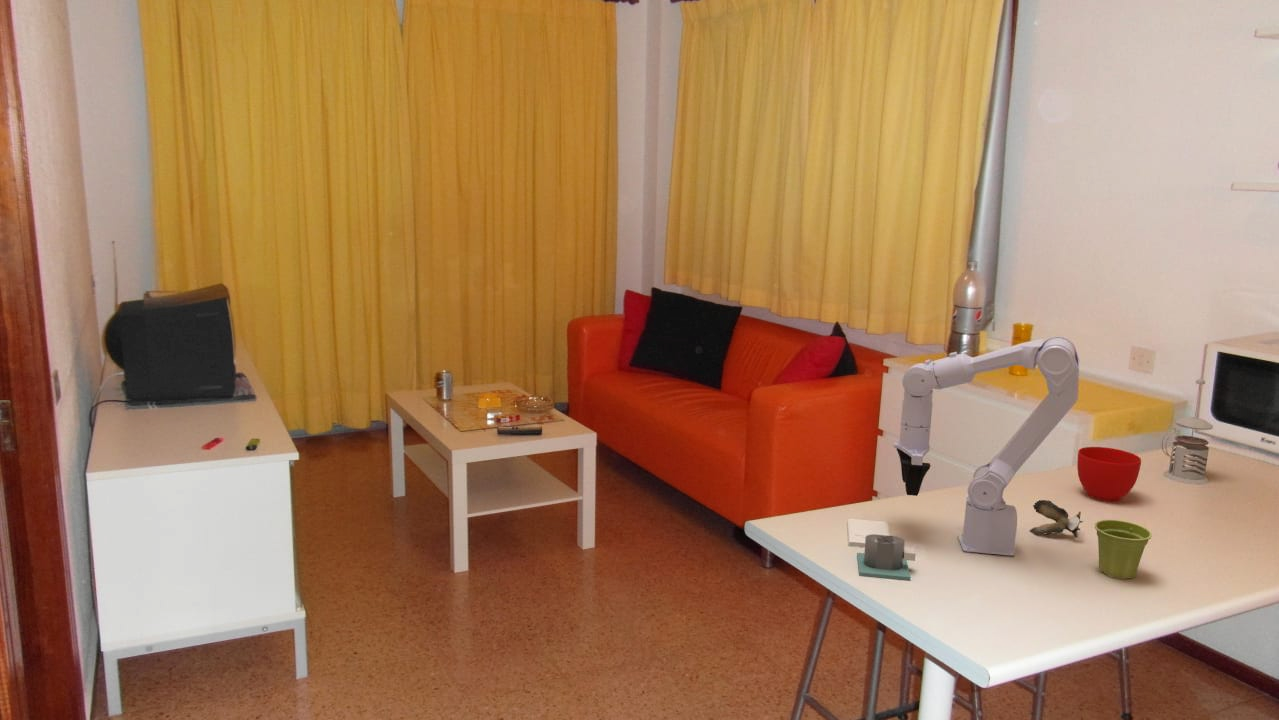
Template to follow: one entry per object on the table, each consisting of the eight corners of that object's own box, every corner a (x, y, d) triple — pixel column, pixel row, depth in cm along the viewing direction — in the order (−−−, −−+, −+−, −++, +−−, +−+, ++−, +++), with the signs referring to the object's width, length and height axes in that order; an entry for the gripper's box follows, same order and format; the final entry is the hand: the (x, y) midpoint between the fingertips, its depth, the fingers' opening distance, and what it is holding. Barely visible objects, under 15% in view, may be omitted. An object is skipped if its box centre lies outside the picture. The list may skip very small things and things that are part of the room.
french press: (1217, 484, 223) (1234, 384, 217) (1169, 483, 223) (1184, 382, 218) (1194, 471, 232) (1209, 374, 227) (1148, 470, 232) (1162, 373, 227)
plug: (864, 567, 170) (866, 541, 169) (863, 558, 174) (865, 533, 173) (914, 572, 168) (917, 546, 167) (912, 563, 172) (914, 538, 171)
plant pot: (1143, 588, 165) (1150, 543, 164) (1086, 575, 170) (1091, 531, 168) (1147, 570, 173) (1153, 526, 171) (1092, 558, 178) (1097, 515, 176)
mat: (905, 560, 175) (905, 557, 175) (910, 580, 166) (910, 577, 166) (856, 555, 177) (857, 552, 176) (859, 575, 168) (859, 572, 168)
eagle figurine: (1074, 522, 193) (1029, 509, 195) (1086, 503, 188) (1040, 490, 190) (1072, 552, 188) (1026, 538, 190) (1084, 533, 183) (1037, 519, 185)
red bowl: (1139, 489, 218) (1145, 449, 216) (1132, 511, 204) (1138, 467, 202) (1079, 478, 225) (1084, 439, 222) (1069, 498, 211) (1074, 456, 208)
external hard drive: (887, 529, 192) (891, 552, 180) (846, 525, 193) (848, 548, 181) (887, 521, 191) (891, 544, 179) (847, 518, 193) (848, 540, 181)
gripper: (892, 413, 192) (886, 475, 194) (898, 432, 178) (892, 498, 180) (927, 415, 190) (921, 478, 193) (936, 435, 176) (930, 502, 179)
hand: (910, 488), depth 187 cm, fingers open, 7 cm apart
